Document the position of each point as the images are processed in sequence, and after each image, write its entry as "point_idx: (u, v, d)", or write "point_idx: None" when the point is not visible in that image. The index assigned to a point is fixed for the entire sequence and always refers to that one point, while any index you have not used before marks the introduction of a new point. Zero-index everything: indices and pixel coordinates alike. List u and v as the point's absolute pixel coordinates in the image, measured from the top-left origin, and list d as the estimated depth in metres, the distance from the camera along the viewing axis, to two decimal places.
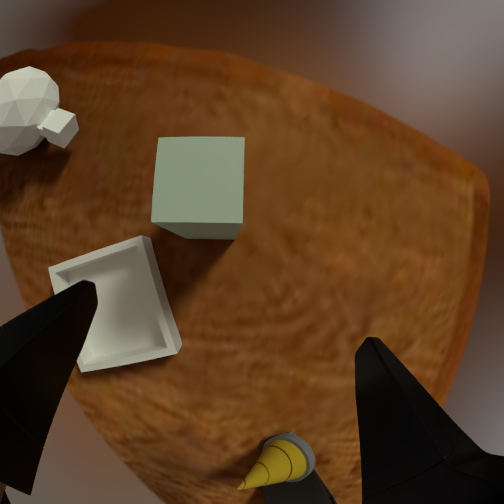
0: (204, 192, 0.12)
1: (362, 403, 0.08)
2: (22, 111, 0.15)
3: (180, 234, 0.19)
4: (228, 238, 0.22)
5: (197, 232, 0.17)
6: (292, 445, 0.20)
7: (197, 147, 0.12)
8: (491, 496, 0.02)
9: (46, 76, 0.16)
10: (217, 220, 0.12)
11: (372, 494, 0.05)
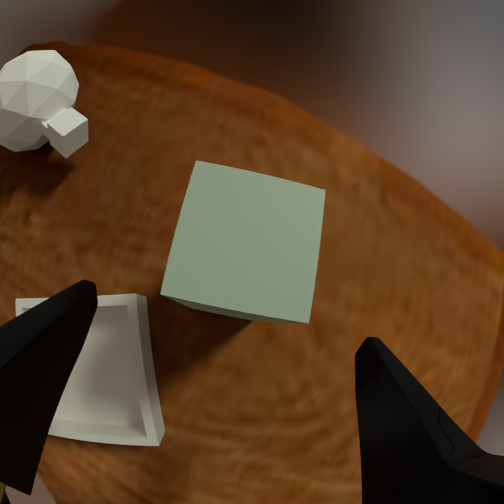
0: (257, 264, 0.08)
1: (362, 403, 0.08)
2: (30, 97, 0.13)
3: (189, 306, 0.14)
4: None
5: (216, 311, 0.12)
6: None
7: (254, 189, 0.08)
8: (491, 496, 0.02)
9: (69, 67, 0.15)
10: (270, 312, 0.07)
11: (372, 494, 0.05)
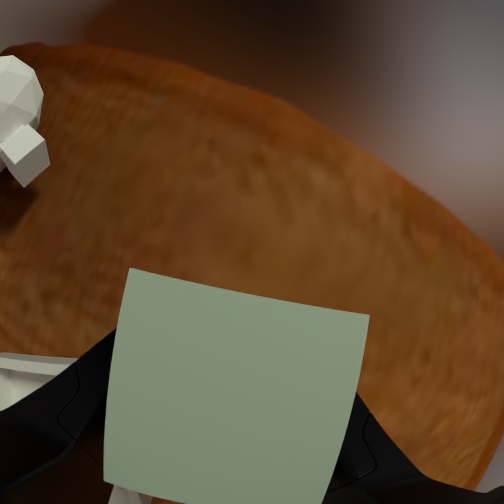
0: (245, 456, 0.04)
1: None
2: None
3: None
4: None
5: None
6: None
7: (241, 329, 0.04)
8: None
9: (27, 74, 0.11)
10: None
11: None
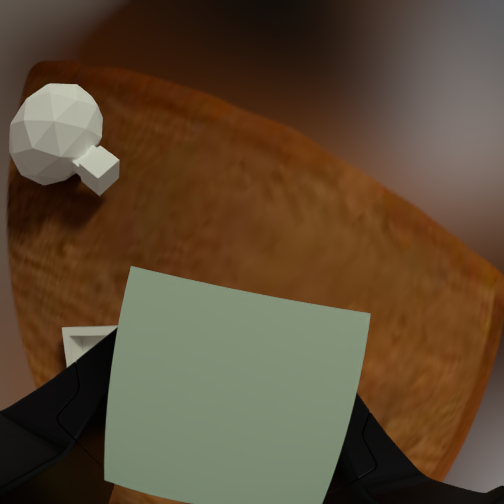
0: (245, 455, 0.04)
1: None
2: (60, 138, 0.16)
3: None
4: None
5: None
6: None
7: (242, 327, 0.04)
8: None
9: (93, 103, 0.18)
10: None
11: None
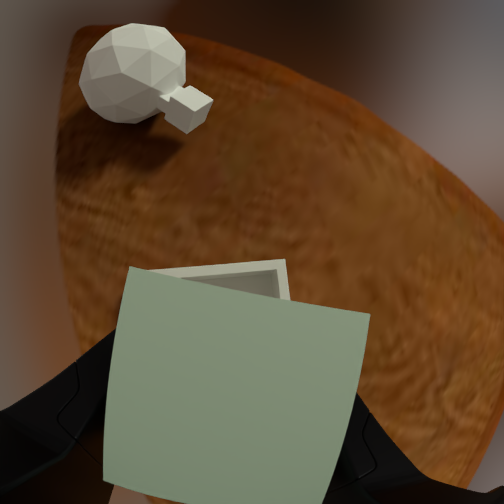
0: (245, 455, 0.04)
1: None
2: (153, 67, 0.15)
3: None
4: None
5: None
6: None
7: (241, 328, 0.04)
8: None
9: (181, 47, 0.18)
10: None
11: None
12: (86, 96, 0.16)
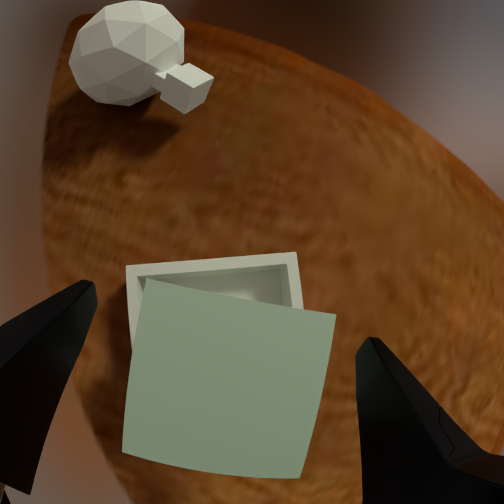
0: (236, 426, 0.05)
1: (362, 403, 0.08)
2: (149, 42, 0.13)
3: None
4: None
5: None
6: None
7: (232, 324, 0.06)
8: (491, 496, 0.02)
9: (180, 24, 0.15)
10: (253, 473, 0.05)
11: (373, 494, 0.05)
12: (76, 75, 0.14)
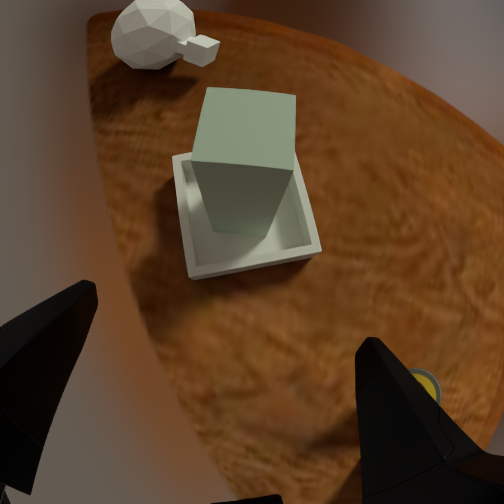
0: (253, 137, 0.11)
1: (362, 403, 0.08)
2: (172, 21, 0.18)
3: (210, 213, 0.17)
4: (260, 231, 0.20)
5: (232, 206, 0.15)
6: (420, 376, 0.18)
7: (247, 98, 0.11)
8: (491, 496, 0.02)
9: (190, 10, 0.20)
10: (265, 164, 0.11)
11: (372, 494, 0.05)
12: (118, 48, 0.19)
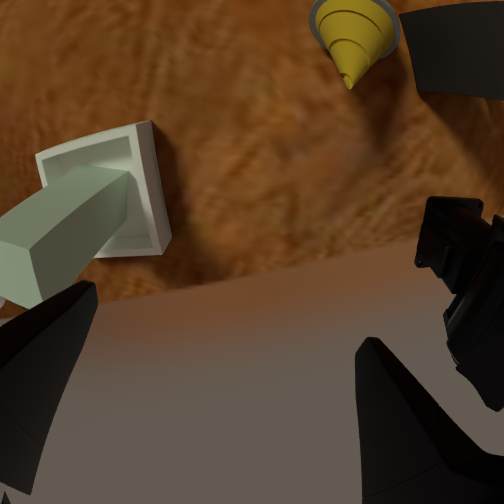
0: (18, 273, 0.10)
1: (362, 403, 0.08)
2: None
3: (100, 245, 0.17)
4: (120, 183, 0.18)
5: (86, 241, 0.15)
6: (323, 7, 0.11)
7: None
8: (491, 496, 0.02)
9: None
10: (32, 270, 0.10)
11: (373, 494, 0.05)
12: None
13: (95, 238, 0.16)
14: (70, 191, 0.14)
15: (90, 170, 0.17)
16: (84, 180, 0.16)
